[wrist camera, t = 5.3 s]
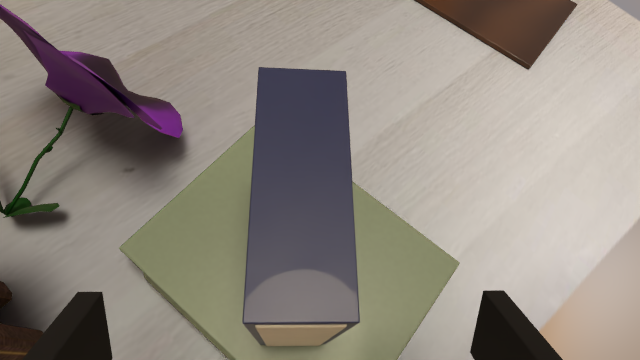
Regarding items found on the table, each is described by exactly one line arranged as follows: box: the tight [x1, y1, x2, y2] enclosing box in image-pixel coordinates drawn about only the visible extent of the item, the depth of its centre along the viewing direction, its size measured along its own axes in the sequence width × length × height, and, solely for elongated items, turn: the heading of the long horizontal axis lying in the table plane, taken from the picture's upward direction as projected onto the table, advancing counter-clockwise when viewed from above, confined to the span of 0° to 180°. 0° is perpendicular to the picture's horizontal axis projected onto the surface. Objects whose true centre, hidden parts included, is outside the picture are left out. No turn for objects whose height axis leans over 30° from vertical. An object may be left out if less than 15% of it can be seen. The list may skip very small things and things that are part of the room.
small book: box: [242, 67, 360, 346], centre depth 21 cm, size 4×11×12 cm, turn 1°
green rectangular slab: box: [119, 125, 459, 360], centre depth 28 cm, size 18×15×3 cm
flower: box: [0, 5, 183, 218], centre depth 27 cm, size 15×15×14 cm
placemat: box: [416, 0, 577, 69], centre depth 43 cm, size 14×12×1 cm
